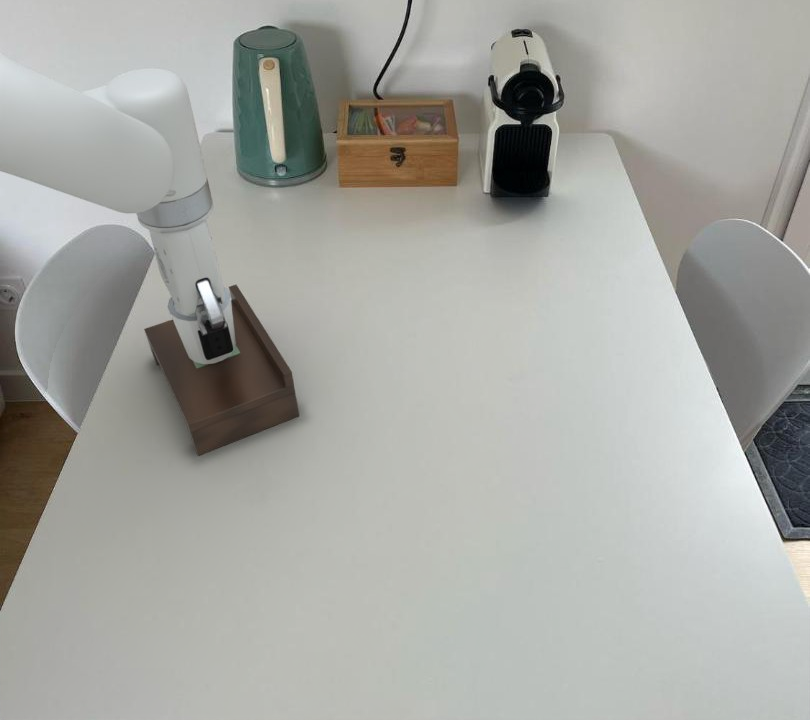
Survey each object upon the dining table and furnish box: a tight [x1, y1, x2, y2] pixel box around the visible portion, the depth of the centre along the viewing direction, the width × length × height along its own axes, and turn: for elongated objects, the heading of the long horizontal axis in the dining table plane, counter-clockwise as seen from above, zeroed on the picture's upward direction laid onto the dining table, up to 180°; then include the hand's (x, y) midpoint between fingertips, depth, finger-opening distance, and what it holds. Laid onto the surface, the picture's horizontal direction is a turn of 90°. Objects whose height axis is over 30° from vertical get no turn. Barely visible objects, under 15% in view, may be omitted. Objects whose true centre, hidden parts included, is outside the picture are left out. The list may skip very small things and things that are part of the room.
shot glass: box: [167, 287, 236, 364], centre depth 91 cm, size 7×7×7 cm
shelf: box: [144, 284, 300, 456], centre depth 94 cm, size 12×18×7 cm, turn 28°
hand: (207, 333), depth 92 cm, fingers open, 7 cm apart
